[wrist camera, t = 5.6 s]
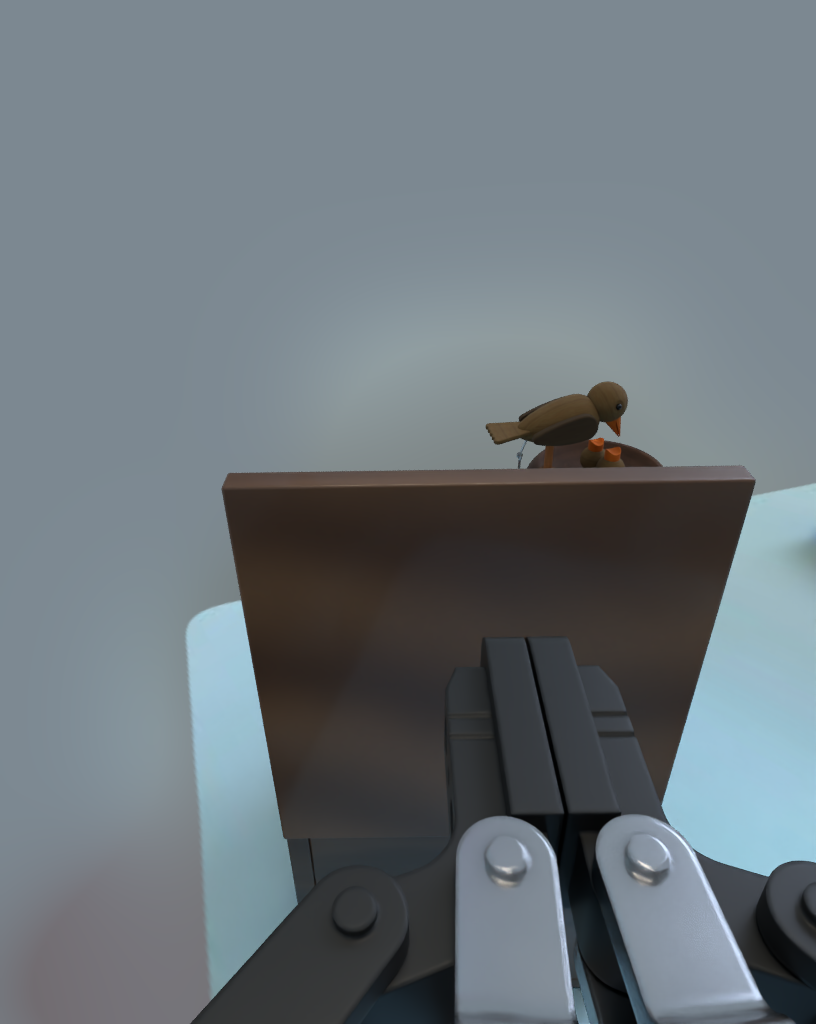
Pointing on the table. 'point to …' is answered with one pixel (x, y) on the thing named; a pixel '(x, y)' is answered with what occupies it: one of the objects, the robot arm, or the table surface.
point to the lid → (462, 613)
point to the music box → (575, 431)
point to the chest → (379, 864)
